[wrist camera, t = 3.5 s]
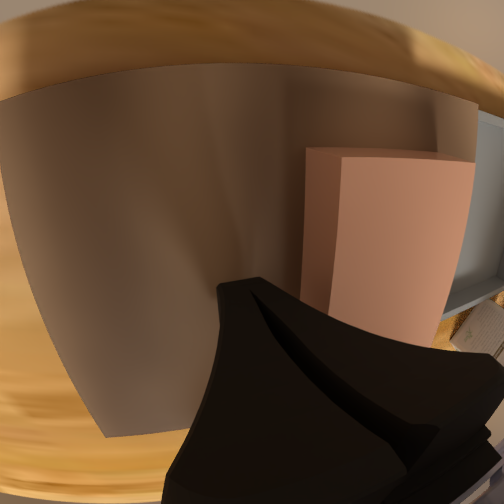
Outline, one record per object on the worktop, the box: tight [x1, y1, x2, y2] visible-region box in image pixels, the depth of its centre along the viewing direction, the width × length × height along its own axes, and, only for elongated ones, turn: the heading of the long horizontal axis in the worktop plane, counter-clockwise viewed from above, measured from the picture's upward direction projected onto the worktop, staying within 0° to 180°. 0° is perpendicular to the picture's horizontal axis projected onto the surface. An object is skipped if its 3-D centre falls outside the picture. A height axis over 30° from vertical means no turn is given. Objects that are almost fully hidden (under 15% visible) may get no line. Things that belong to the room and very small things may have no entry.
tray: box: [440, 110, 504, 321], centre depth 18 cm, size 14×14×2 cm
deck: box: [0, 63, 479, 438], centre depth 13 cm, size 18×14×4 cm
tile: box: [300, 147, 476, 348], centre depth 11 cm, size 6×9×2 cm, turn 2°
